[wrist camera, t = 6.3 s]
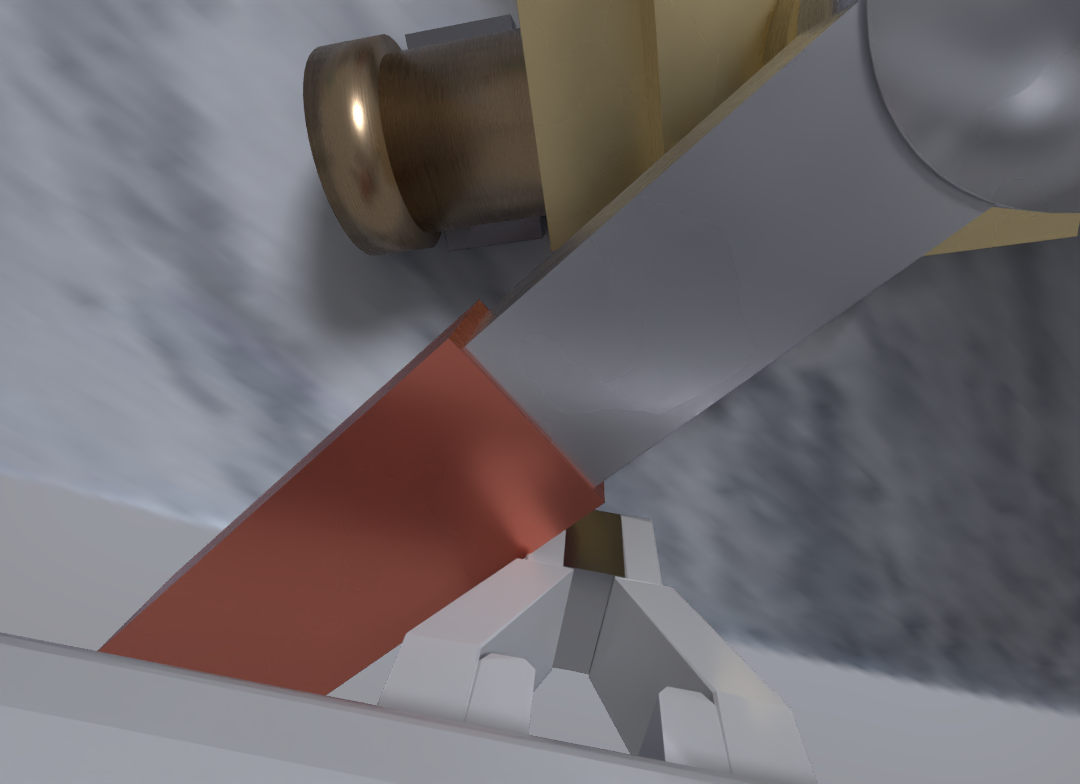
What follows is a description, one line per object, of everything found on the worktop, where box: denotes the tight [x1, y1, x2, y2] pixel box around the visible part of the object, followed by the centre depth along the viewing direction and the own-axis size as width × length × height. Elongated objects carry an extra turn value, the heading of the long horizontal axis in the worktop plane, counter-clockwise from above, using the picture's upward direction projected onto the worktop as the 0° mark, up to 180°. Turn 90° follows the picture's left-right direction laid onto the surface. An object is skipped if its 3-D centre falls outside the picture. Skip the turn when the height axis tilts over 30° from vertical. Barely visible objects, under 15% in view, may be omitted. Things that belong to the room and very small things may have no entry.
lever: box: [98, 0, 1080, 696], centre depth 8 cm, size 17×4×2 cm, turn 132°
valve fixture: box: [303, 0, 1080, 256], centre depth 12 cm, size 22×7×11 cm, turn 98°
